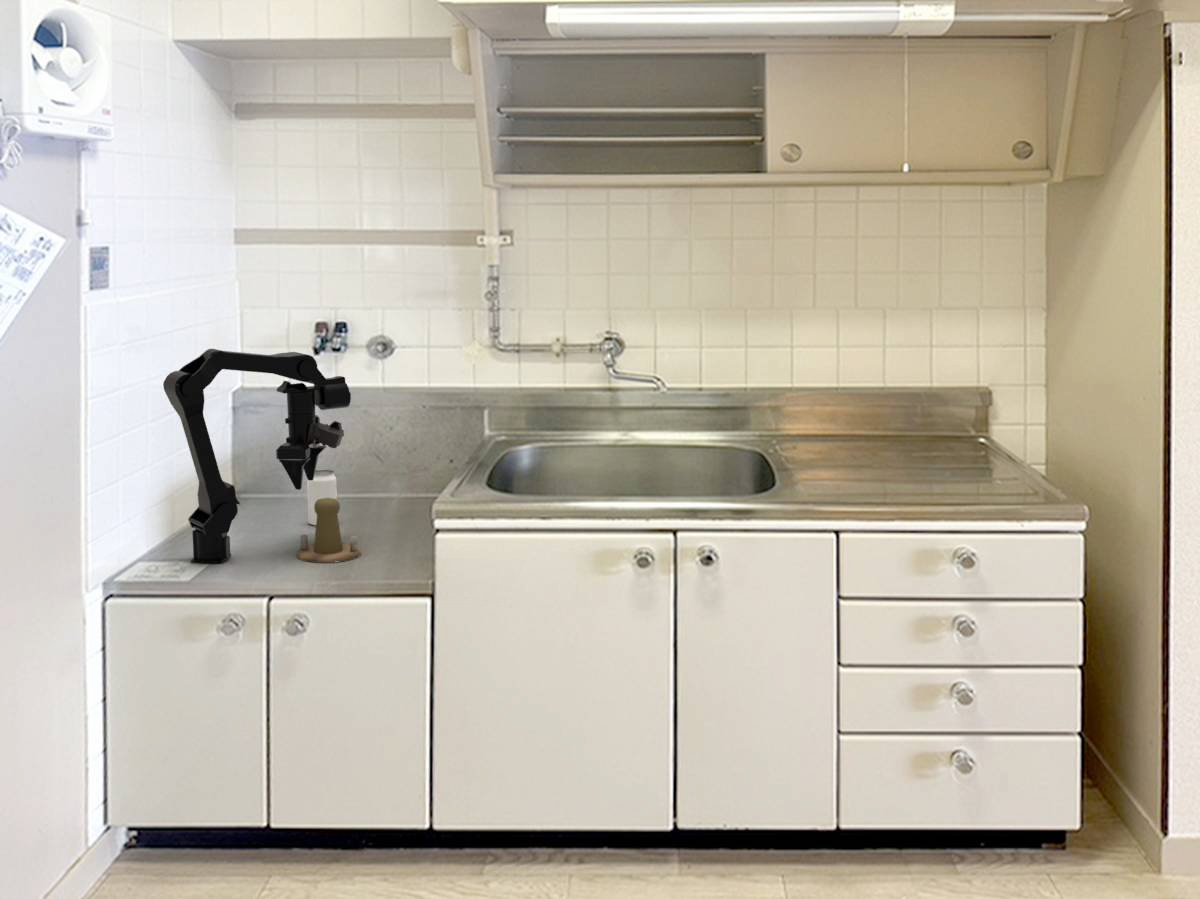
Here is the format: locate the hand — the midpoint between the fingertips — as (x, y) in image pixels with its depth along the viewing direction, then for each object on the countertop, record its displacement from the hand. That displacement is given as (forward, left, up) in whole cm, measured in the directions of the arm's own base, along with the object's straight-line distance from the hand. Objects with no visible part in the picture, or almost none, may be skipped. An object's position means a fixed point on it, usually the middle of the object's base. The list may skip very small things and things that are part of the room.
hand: (304, 484), depth 304 cm
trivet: (+7, -8, -13) cm, 17 cm away
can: (-2, +20, -13) cm, 24 cm away
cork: (+7, -8, -12) cm, 16 cm away
